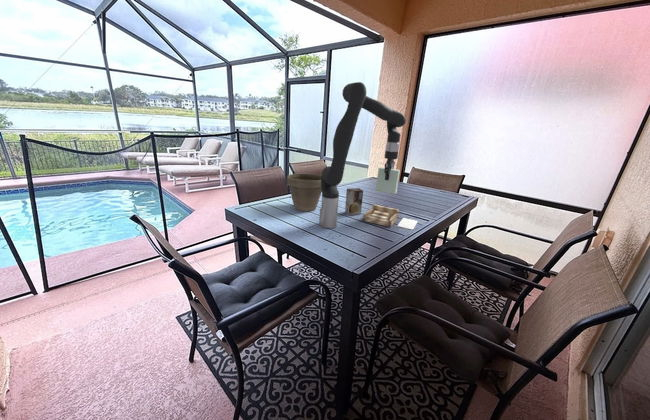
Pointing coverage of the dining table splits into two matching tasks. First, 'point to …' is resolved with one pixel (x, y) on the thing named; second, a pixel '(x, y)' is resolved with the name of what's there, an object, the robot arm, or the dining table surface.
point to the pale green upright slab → (387, 181)
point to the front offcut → (379, 216)
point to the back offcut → (381, 214)
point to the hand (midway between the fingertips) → (387, 179)
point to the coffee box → (354, 201)
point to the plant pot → (305, 190)
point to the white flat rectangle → (407, 223)
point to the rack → (392, 215)
